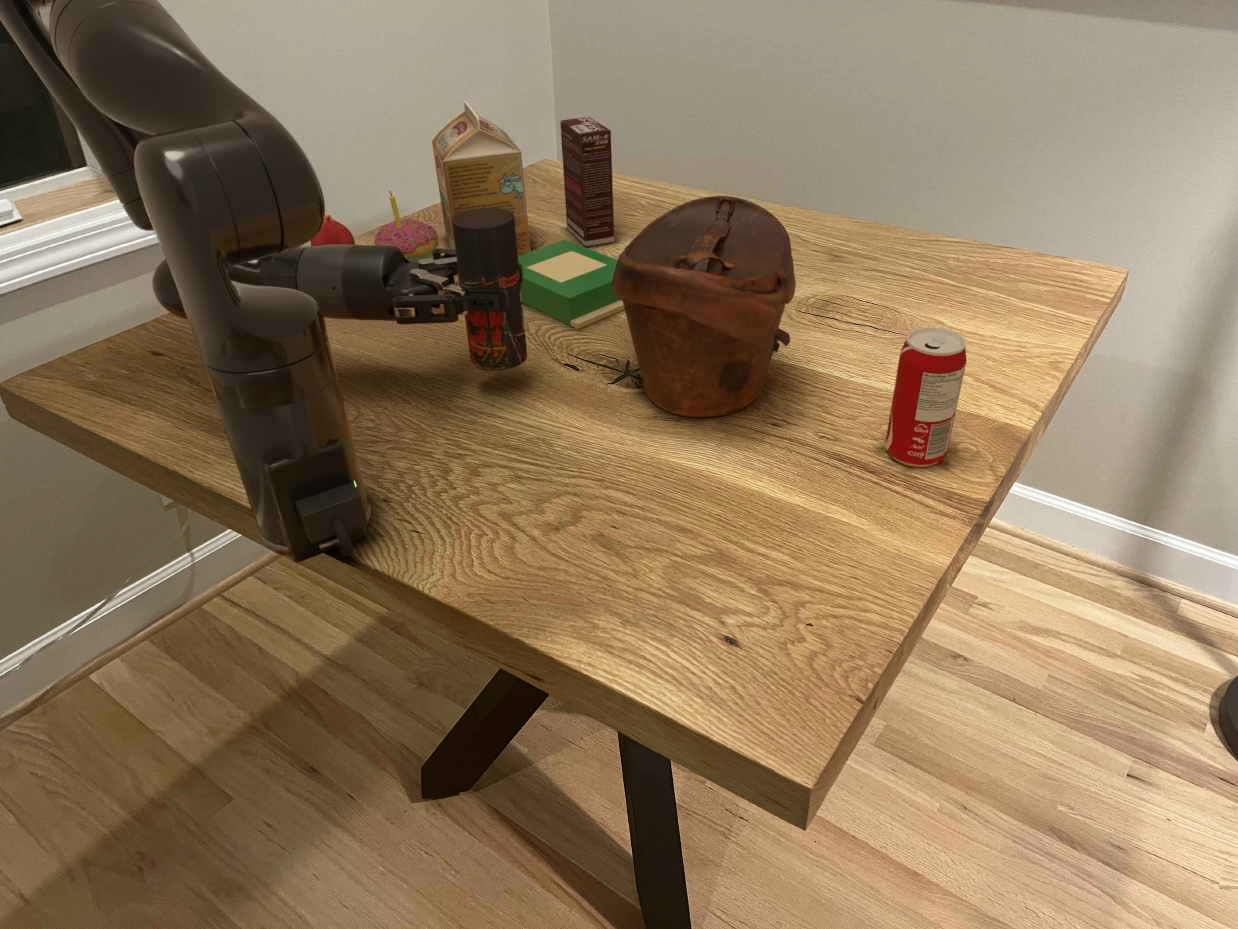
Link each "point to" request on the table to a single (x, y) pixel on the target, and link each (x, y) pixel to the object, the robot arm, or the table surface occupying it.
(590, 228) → the supplement box
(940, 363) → the soda can
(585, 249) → the green box
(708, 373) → the case
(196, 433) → the table surface
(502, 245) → the deodorant
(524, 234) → the milk carton
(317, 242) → the onion
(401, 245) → the cupcake
